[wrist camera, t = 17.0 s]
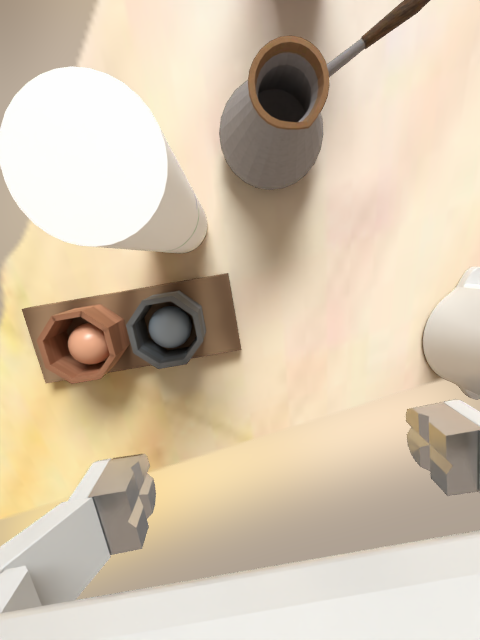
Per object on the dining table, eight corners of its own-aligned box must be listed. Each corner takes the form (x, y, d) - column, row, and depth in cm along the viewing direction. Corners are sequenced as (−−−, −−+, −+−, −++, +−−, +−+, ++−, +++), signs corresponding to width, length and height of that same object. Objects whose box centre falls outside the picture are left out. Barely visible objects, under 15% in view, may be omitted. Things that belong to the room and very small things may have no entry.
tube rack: (228, 273, 39) (227, 276, 33) (240, 346, 41) (242, 362, 35) (29, 307, 39) (-10, 317, 33) (52, 378, 41) (19, 401, 35)
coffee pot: (249, 212, 38) (263, 183, 23) (201, 122, 35) (182, 26, 21) (404, 120, 36) (525, 26, 21) (365, 20, 34) (470, -161, 19)
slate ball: (188, 300, 38) (184, 305, 33) (196, 338, 39) (193, 348, 34) (149, 307, 38) (139, 313, 33) (158, 345, 39) (149, 356, 34)
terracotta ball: (110, 314, 38) (104, 324, 34) (121, 350, 40) (116, 364, 35) (68, 322, 37) (55, 334, 33) (81, 359, 39) (70, 376, 34)
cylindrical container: (199, 187, 37) (140, 48, 12) (213, 246, 38) (186, 226, 14) (142, 200, 37) (-29, 89, 12) (158, 259, 38) (34, 262, 14)
